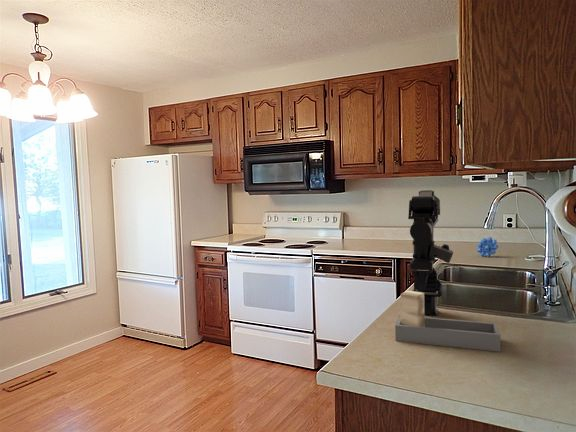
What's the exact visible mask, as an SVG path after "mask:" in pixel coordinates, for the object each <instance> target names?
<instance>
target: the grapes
mask: <svg viewBox="0 0 576 432" xmlns="http://www.w3.org/2000/svg"><path fill="white" fill-rule="evenodd" d="M497 243H498V241H497V239H493V237H491V236H490V237H489V236H488V237H487V238H486V237H484V238H482V239H481V240H480V241H479V242H478V243H477V248H476V252H477V253H479V255H480V257H484V256H485V257H486V256H489V257H491V255H495V254H496V252H497V250H498V249H499V244H497Z"/></svg>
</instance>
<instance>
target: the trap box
mask: <svg viewBox="0 0 576 432" xmlns="http://www.w3.org/2000/svg"><path fill="white" fill-rule="evenodd" d="M394 327H395V331H394V333H395V341H396V342H405V343H415V344H424V345H432V346H433V345H434V346H442V347H449V348H450V347H452V348H461V349H471V350H479V351H480V350H481V351H490V352H499V353H500V352H501V333H500V329H499V326H498V323H497V322H490V321H489V322H487V321H475V320H463V319H452V318H451V319H449V318H442V317H441V318H439V317H427V316H425V327H420V326H409V325H401V314H400V315H398V318H397V321H396V322H395V326H394Z"/></svg>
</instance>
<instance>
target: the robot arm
mask: <svg viewBox="0 0 576 432" xmlns="http://www.w3.org/2000/svg"><path fill="white" fill-rule="evenodd" d="M408 202H409V204H408V216H407V217H408V220H413V221H412V225H411V226H410V229H409V234H410V237H411V238H412V245H413V246H412V247H413V248H412V249H413V250H412V251H413V252H412V260H410V262H409V270H410V272H411V274H412V276H413V278H414V279H413V291H415V292H422V293H424V315H426V316H427V315H430V316H438V310H439V309H438V308H437V298H441V297H442V296H443V284H442V282H441V280H440V279H439V278H438V277H439V276H438V273H437V271H436V269H435V268H434V264H435V262H436V259H439V260H441V261H443V262H445V263H447V264H450V263H451V260H452V257H453V254H454V251H453V250H452V249H450V245H448V244H445V243H444V244H442V245H441V246H440V245H437V244H435V240H434V237H435V235H434V228H435V226H436V224H437V223H438V222H439V216H441V200H440V199H439V198H438V197H437V196H436V195H435V190H432V189H431V190H420V191H418V195H417V196H415V195H414V196H412V197H411V199H409V201H408Z"/></svg>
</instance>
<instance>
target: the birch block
mask: <svg viewBox="0 0 576 432" xmlns="http://www.w3.org/2000/svg"><path fill="white" fill-rule="evenodd" d="M400 315H401V325H409V326H420V327H425V317H426V316H425V314H424V293H422V292H415V291H414V290H406V291H404V292H401V293H400Z"/></svg>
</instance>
